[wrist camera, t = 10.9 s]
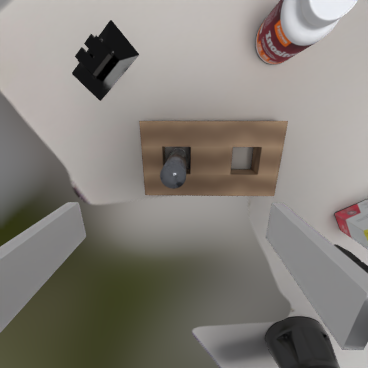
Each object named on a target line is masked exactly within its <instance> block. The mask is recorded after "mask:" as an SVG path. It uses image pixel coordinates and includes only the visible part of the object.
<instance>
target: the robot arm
mask: <svg viewBox="0 0 368 368" xmlns="http://www.w3.org/2000/svg"><path fill="white" fill-rule="evenodd" d="M85 237H86V234H85V228H84V224H83V219H82V215H81V210H80V206H79V203H78V202H68V203H66V204H65V205H63V206H62V207H60V208H58V209H57V210H55V211H54V212H52V213H51V214H49V215H48V216H46V217H45V218H43V219H42V220H40V221H39V222H37V223H36V224H34V225H33V226H32V227H30V228H28V229H27V230H25V231H24V232H22V233H21V234H19V235H18V236H16V237H15V238H13V239H12V240H10V241H9V242H7V243H6V244H4V245H3V246H1V247H0V332H1V331H2V330H3V329H4V328H5V327H6V326H7V324H8V323H9V322H10V321H11V320H12V319H13V318H14V316H15V315H16V314H17V313H18V312H19V311H20V310H21V309H22V308H23V307H24V305H25V304H26V303H27V302H28V301H29V300H30V298H31V297H33V295H34V294H35V293H36V292H37V291H38V290H39V289H40V288H41V286H42V285H43V284H44V283H45V282H46V281H47V280H48V278H50V276H51V275H52V274H53V273H54V272H55V271H56V270H57V268H58V267H59V266H60V265H61V264H62V263H63V262H64V261H65V260H66V258H67V257H68V256H69V255H70V254H71V253H72V252H73V251H74V250H75V248H76V247H77V246H78V245H79V244H80V243H81V242H82V241H83V239H84V238H85ZM266 239H267V240H268V241H269V243H270V244H271V246H272V247H273V249H274V250H275V252H276V253H277V255H278V256H279V258H280V259H281V261H282V262H283V264H284V265H285V266H286V268H287V269H288V271H289V272H290V274H291V275H292V277H293V278H294V280H295V281H296V283H297V284H298V286H299V287H300V288H301V290H302V291H303V293H304V294H305V296H306V297H307V299H308V300H309V302H310V303H311V305H312V306H313V308H314V309H315V311H316V312H317V313H318V315H319V316H320V318H321V319H322V321H323V322H324V324H325V325H326V327H327V328H328V330H329V331H330V333H331V334H332V336H333V337H334V338H335V340H336V341H337V343H338V344H339V346H340V347H341V349H342V350H364V348H365V346H366V344H367V342H368V266H367V265H366V264H365V263H363V262H361V260H360V259H358V258H357V257H356V256H355V255H353V254H352V253H351V252H349V251H347V250H346V249H344V248H342V247H340V246H338V245H333V244H332V243H331V242H330V241H328V240H327V239H326V238H325V237H324V236H322V235H321V234H320V233H319V232H318V231H316V230H315V229H314V228H313V227H312V226H310V225H309V224H308V223H307V222H306V221H304V220H303V219H302V218H301V217H300V216H298V215H297V214H296V213H295V212H294V211H293V210H291V209H290V208H289V207H288V206H287V205H285V204H284V203H272V205H271V211H270V217H269V222H268V228H267V234H266ZM265 341H266V344H267V347H268V350H269V352H270V354H271V356H272V357H273V359H274V360H275V362H276V363H277V365H278V366H279V368H340V367H339V364H338V362H337V359H336V356H335V353H334V350H333V347H332V344H331V341H330V339H329V336H328V334H327V333H326V331H325V330H324V328H323V327H322V325H321V324H320V323H319V322H317V321H316V320H313V319H311V318H306V317H293V318H288V319H285V320H282V321H280V322H278V323H276V324H274V325H273V326H272V327H271V328H270V329H269V330H268V332H267V334H266V337H265Z"/></svg>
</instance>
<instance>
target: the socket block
mask: <svg viewBox="0 0 368 368" xmlns="http://www.w3.org/2000/svg"><path fill="white" fill-rule="evenodd" d="M139 122H140V134H141V147H142V159H143V172H144V185H145V195H202V196H203V195H204V196H205V195H207V196H209V195H210V196H274V194H275V188H276V183H277V178H278V172H279V167H280V162H281V156H282V151H283V145H284V140H285V135H286V129H287V124H288V121H139ZM165 147H191V151H190V169H186V180H185V182H184V184H183V185H182V186H181V187H179V188H175V189H171V188H168V187H166V186H165V185H164V184H163V183H162V182H161V179H160V172H161V170H162V168H163V166H164V164H165V163H166V162H165ZM233 147H254V148H253V155H252V163H251V169H231V161H232V150H233Z"/></svg>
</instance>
